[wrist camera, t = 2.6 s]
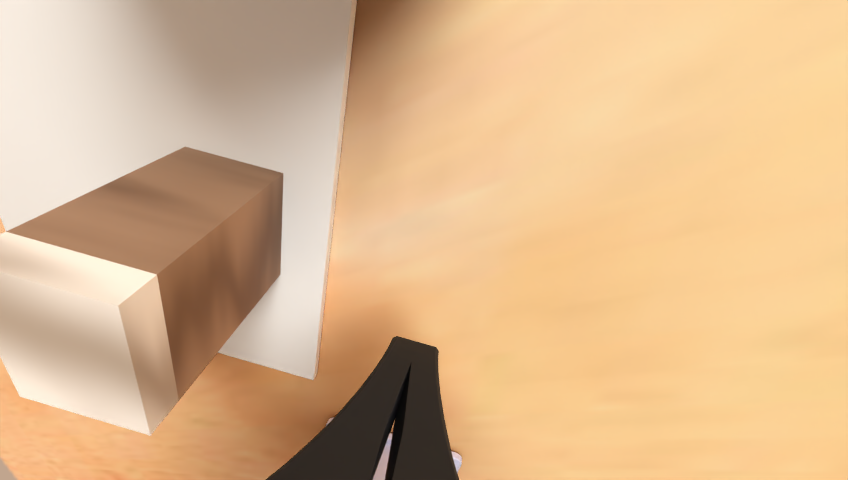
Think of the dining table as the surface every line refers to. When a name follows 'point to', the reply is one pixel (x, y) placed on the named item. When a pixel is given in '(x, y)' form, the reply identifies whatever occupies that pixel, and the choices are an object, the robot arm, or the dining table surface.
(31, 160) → the mat
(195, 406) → the dining table surface
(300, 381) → the dining table surface
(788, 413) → the dining table surface
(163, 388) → the walnut block
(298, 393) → the dining table surface
